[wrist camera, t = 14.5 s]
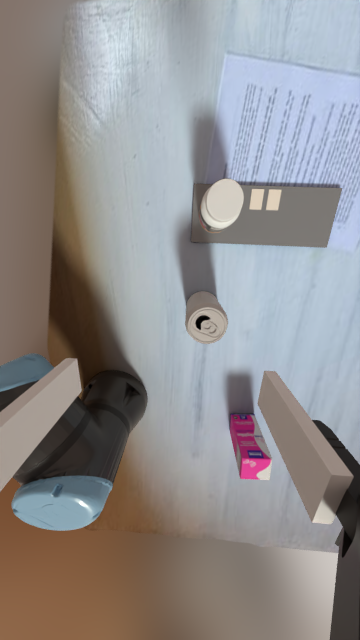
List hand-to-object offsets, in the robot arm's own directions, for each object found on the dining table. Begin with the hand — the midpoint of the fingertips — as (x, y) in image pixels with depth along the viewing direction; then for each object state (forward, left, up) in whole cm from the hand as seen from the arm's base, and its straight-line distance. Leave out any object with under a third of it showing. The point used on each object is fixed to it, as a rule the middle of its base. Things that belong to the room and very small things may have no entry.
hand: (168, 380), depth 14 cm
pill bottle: (+5, +15, -26) cm, 31 cm away
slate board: (+13, +16, -27) cm, 33 cm away
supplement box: (+16, -30, -27) cm, 43 cm away
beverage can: (+4, -1, -27) cm, 27 cm away
